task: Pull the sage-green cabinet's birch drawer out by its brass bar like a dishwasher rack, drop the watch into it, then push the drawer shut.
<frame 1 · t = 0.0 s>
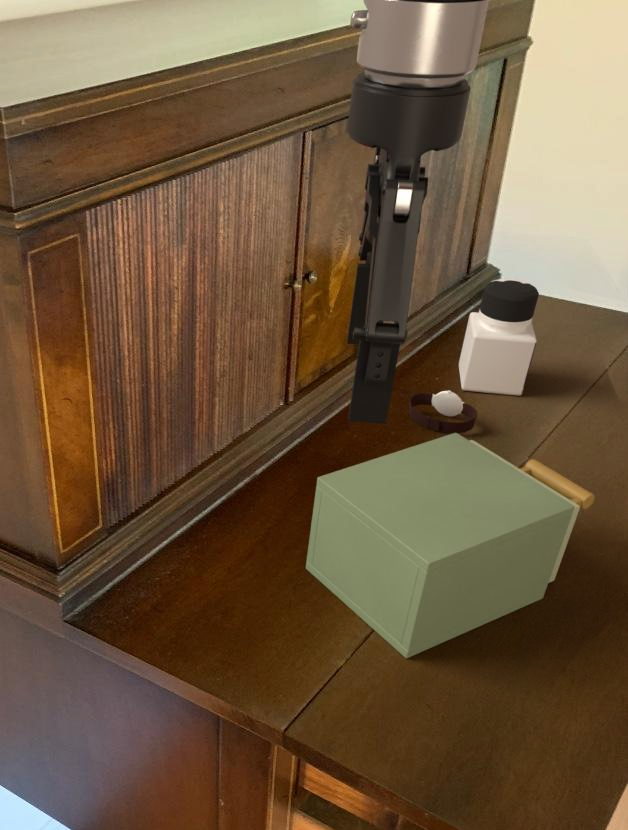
hand: (364, 379, 73), 18 cm above the table, tool pointing down, fingers open, 13 cm apart
watch: (439, 425, 104), on the table
cabinet: (422, 583, 82), on the table
medicine bottle: (488, 382, 113), on the table
drawer: (478, 521, 81), point 5 cm above the table, slide at 0.5 cm
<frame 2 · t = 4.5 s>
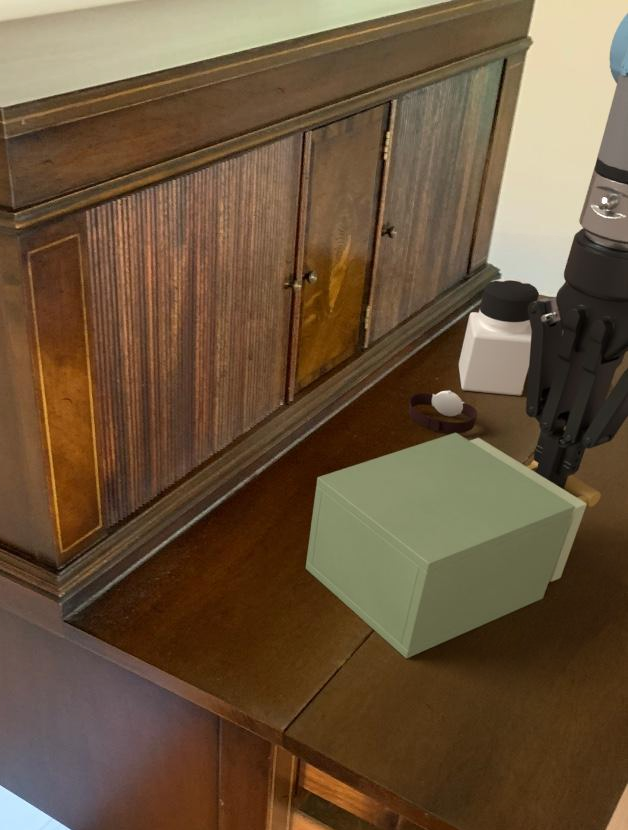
hand: (544, 498, 84), 5 cm above the table, tool pointing down, fingers closed
drawer: (485, 519, 81), point 5 cm above the table, slide at 1.3 cm, touching gripper
everything else where it was.
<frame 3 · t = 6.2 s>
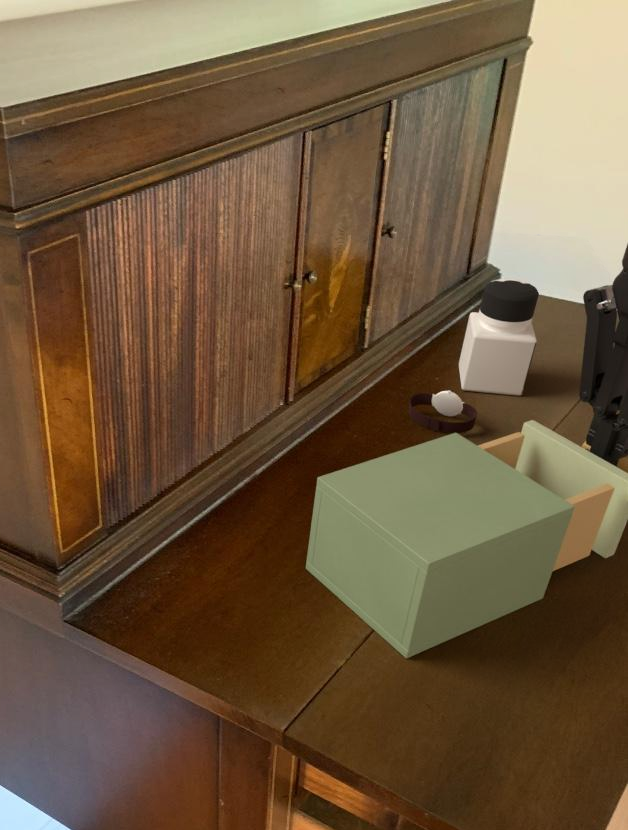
hand: (595, 480, 87), 4 cm above the table, tool pointing down, fingers closed
drawer: (541, 497, 84), point 5 cm above the table, slide at 8.3 cm
everything else where it was.
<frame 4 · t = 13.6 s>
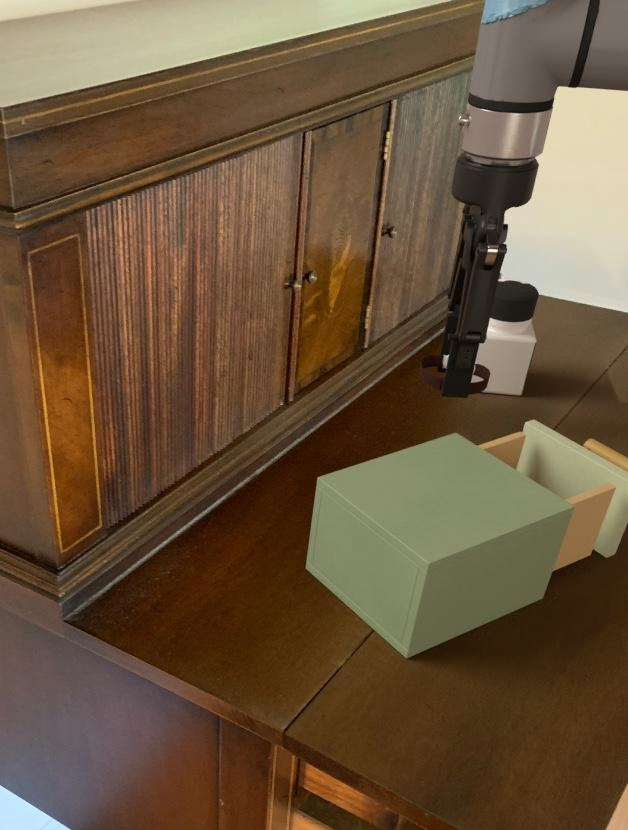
hand: (451, 382, 101), 5 cm above the table, tool pointing down, fingers closed on watch, 5 cm apart
watch: (450, 387, 101), point 5 cm above the table, touching gripper
everything else where it was.
when the fingers open (9 cm above the table, at t = 17.9 s): watch drops 4 cm, resting on drawer.
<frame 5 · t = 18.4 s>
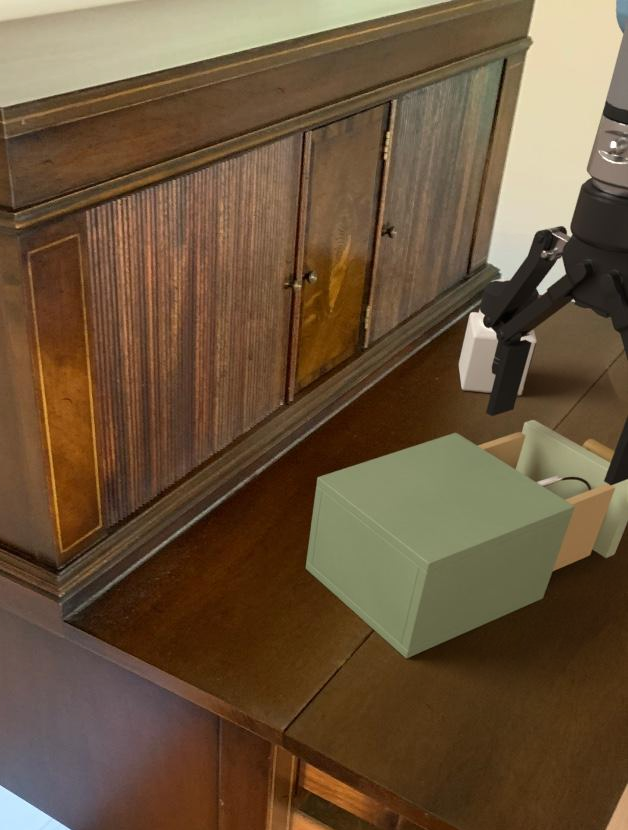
hand: (555, 443, 80), 11 cm above the table, tool pointing down, fingers open, 13 cm apart
watch: (548, 507, 84), point 4 cm above the table, touching drawer
drawer: (541, 497, 84), point 5 cm above the table, slide at 8.4 cm, touching watch
everything else where it was.
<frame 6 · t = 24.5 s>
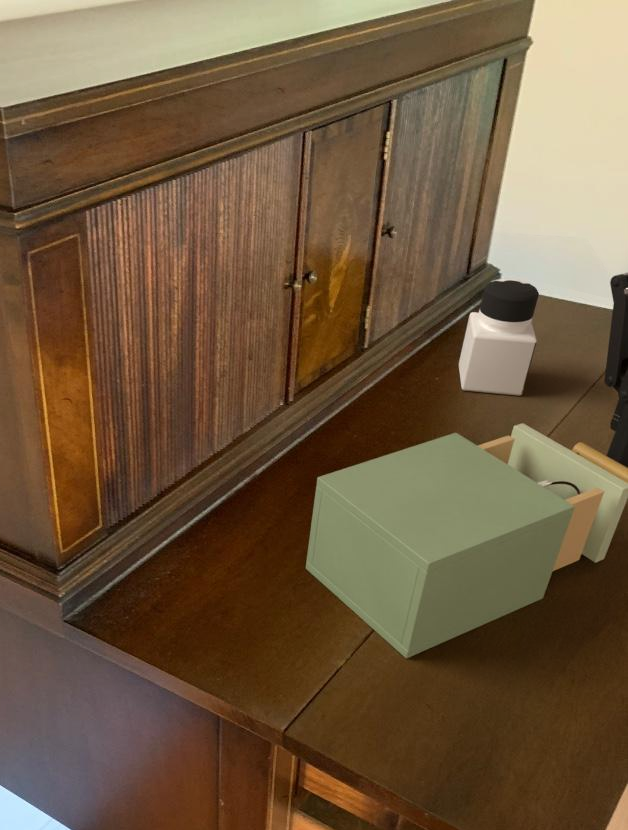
hand: (618, 465, 88), 5 cm above the table, tool pointing down, fingers closed
watch: (537, 511, 84), point 4 cm above the table, touching drawer
drawer: (530, 501, 83), point 5 cm above the table, slide at 7.0 cm, touching gripper, watch
everything else where it was.
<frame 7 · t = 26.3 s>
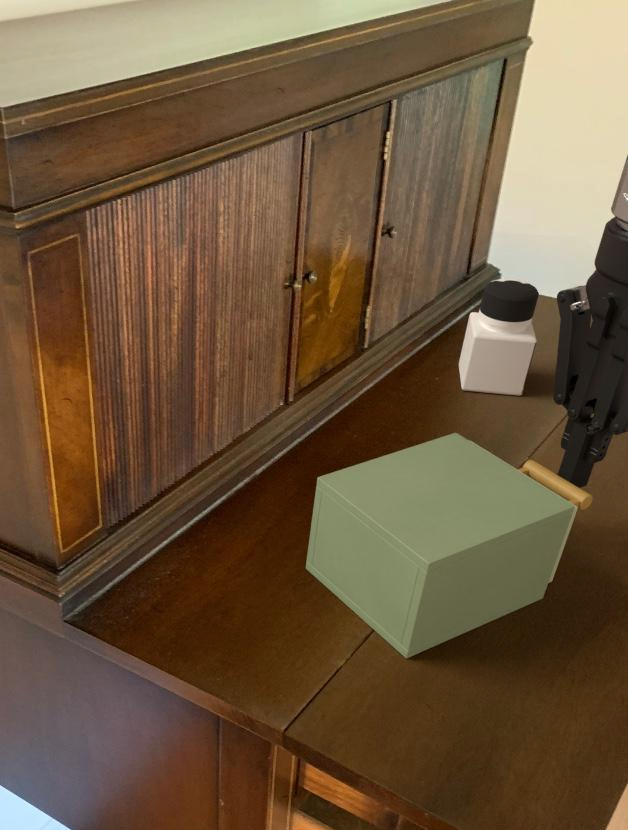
hand: (570, 485, 85), 5 cm above the table, tool pointing down, fingers closed
watch: (483, 532, 81), point 4 cm above the table, touching drawer
drawer: (476, 522, 81), point 5 cm above the table, slide at 0.2 cm, touching gripper, watch
everything else where it was.
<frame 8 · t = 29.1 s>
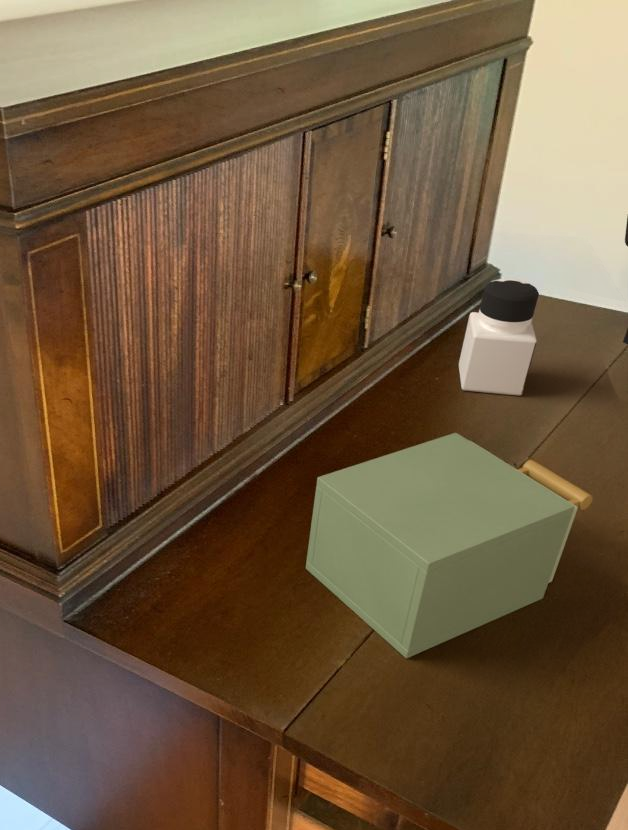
drawer: (476, 522, 81), point 5 cm above the table, slide at 0.2 cm, touching watch
everything else where it was.
at the end: drawer pulled out 8.5 cm at the most during the clip, back to 0.2 cm at the end; watch inside the target area in the cabinet (5.6 cm from its centre), point 4.0 cm above the cabinet's base; drawer slide at 0.2 cm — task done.
